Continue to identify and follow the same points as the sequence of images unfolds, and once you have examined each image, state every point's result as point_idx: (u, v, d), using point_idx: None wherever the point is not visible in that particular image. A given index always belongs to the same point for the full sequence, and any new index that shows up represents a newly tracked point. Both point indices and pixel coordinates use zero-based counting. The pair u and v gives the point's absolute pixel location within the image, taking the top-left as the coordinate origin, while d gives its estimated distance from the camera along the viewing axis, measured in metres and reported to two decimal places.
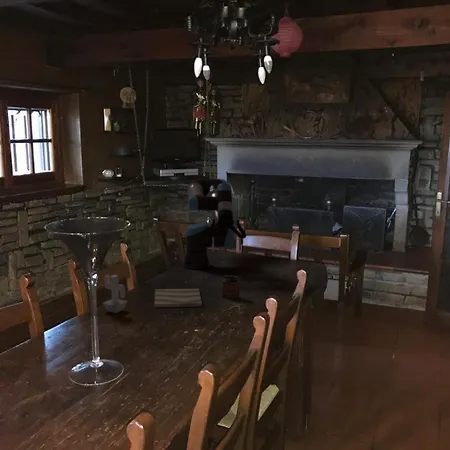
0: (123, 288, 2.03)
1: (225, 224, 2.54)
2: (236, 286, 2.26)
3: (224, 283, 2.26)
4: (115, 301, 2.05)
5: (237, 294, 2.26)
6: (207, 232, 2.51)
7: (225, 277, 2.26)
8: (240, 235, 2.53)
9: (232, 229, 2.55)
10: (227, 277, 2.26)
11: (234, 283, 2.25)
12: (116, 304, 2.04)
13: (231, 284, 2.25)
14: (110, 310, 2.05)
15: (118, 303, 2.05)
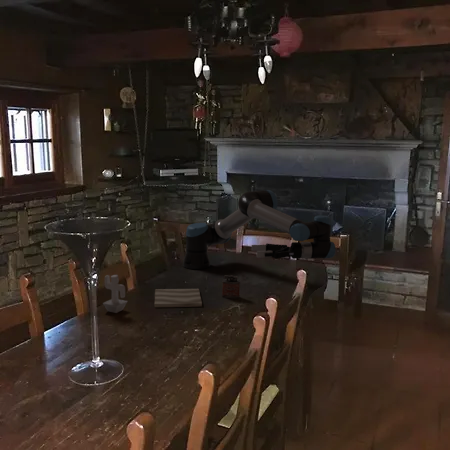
0: (123, 288, 2.03)
1: None
2: (236, 286, 2.26)
3: (224, 283, 2.26)
4: (115, 301, 2.05)
5: (237, 294, 2.26)
6: None
7: (225, 277, 2.26)
8: None
9: (277, 249, 2.30)
10: (227, 277, 2.26)
11: (234, 283, 2.25)
12: (116, 304, 2.04)
13: (231, 284, 2.25)
14: (110, 310, 2.05)
15: (118, 303, 2.05)
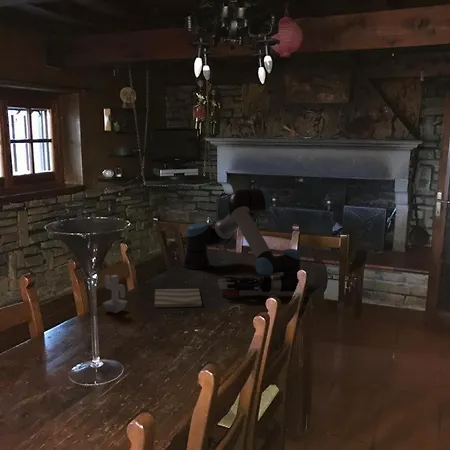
0: (123, 288, 2.03)
1: None
2: None
3: None
4: (115, 301, 2.05)
5: (237, 294, 2.26)
6: None
7: (225, 277, 2.26)
8: None
9: None
10: (227, 277, 2.26)
11: (234, 283, 2.25)
12: (116, 304, 2.04)
13: None
14: (110, 310, 2.05)
15: (118, 303, 2.05)
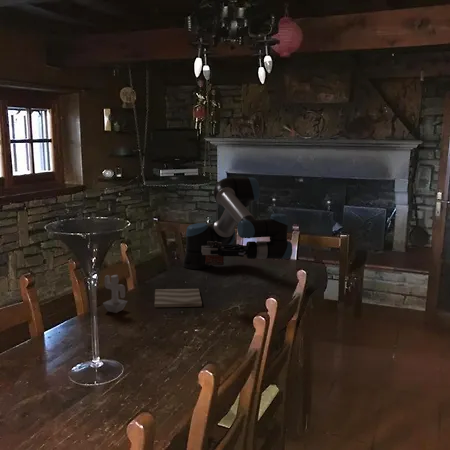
0: (123, 288, 2.03)
1: None
2: None
3: None
4: (115, 301, 2.05)
5: (221, 261, 2.15)
6: None
7: (208, 243, 2.14)
8: None
9: None
10: (210, 243, 2.14)
11: None
12: (116, 304, 2.04)
13: None
14: (110, 310, 2.05)
15: (118, 303, 2.05)
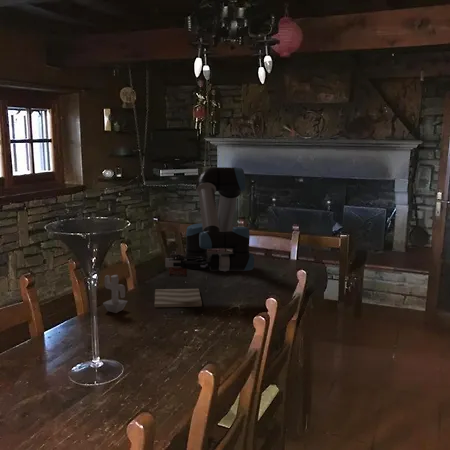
0: (123, 288, 2.03)
1: None
2: None
3: None
4: (115, 301, 2.05)
5: (184, 273, 2.19)
6: (186, 268, 2.15)
7: (172, 255, 2.19)
8: None
9: None
10: (174, 255, 2.19)
11: None
12: (116, 304, 2.04)
13: None
14: (110, 310, 2.05)
15: (118, 303, 2.05)
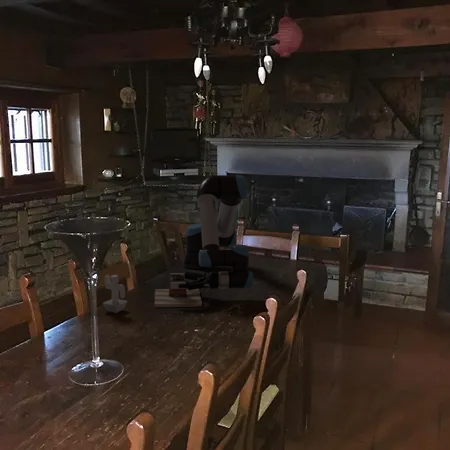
0: (123, 288, 2.03)
1: None
2: None
3: (170, 282, 2.21)
4: (115, 301, 2.05)
5: (184, 293, 2.22)
6: (192, 289, 2.13)
7: (171, 276, 2.21)
8: (187, 278, 2.29)
9: (195, 278, 2.26)
10: (173, 275, 2.21)
11: (181, 281, 2.20)
12: (116, 304, 2.04)
13: None
14: (110, 310, 2.05)
15: (118, 303, 2.05)
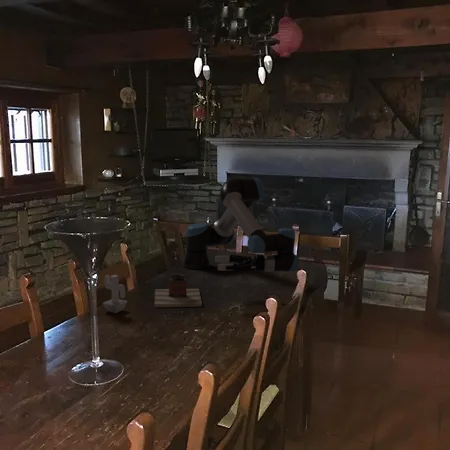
0: (123, 288, 2.03)
1: None
2: (182, 285, 2.21)
3: (170, 282, 2.21)
4: (115, 301, 2.05)
5: (184, 293, 2.22)
6: (239, 271, 2.15)
7: (171, 276, 2.21)
8: None
9: (241, 260, 2.27)
10: (173, 276, 2.21)
11: (181, 282, 2.20)
12: (116, 304, 2.04)
13: (178, 283, 2.20)
14: (110, 310, 2.05)
15: (118, 303, 2.05)
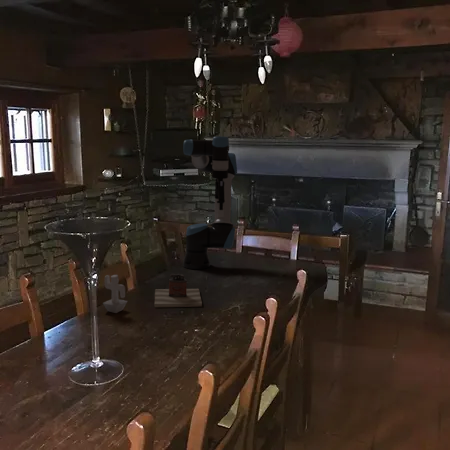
0: (123, 288, 2.03)
1: None
2: (182, 285, 2.21)
3: (170, 282, 2.21)
4: (115, 301, 2.05)
5: (184, 293, 2.22)
6: None
7: (171, 276, 2.21)
8: (218, 200, 2.31)
9: None
10: (173, 276, 2.21)
11: (181, 282, 2.20)
12: (116, 304, 2.04)
13: (178, 283, 2.20)
14: (110, 310, 2.05)
15: (118, 303, 2.05)
